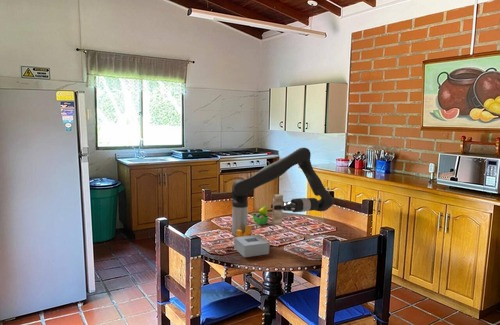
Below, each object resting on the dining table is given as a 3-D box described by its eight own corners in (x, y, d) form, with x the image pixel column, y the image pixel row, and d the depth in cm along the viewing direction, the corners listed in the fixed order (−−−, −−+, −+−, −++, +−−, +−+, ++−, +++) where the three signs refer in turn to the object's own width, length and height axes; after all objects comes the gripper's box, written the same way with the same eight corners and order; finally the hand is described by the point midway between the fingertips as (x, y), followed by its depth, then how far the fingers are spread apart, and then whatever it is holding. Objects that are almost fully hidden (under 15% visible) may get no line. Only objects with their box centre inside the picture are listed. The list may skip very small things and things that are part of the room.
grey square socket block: (234, 248, 192) (234, 237, 192) (257, 245, 198) (258, 234, 197) (244, 257, 180) (244, 245, 179) (269, 253, 185) (269, 242, 185)
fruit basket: (251, 221, 246) (251, 205, 245) (262, 220, 250) (263, 204, 248) (258, 225, 236) (259, 208, 234) (270, 224, 239) (271, 207, 238)
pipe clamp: (242, 242, 202) (242, 231, 201) (236, 241, 204) (236, 230, 203) (253, 237, 212) (254, 226, 211) (247, 236, 214) (247, 225, 213)
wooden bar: (272, 223, 194) (273, 194, 192) (279, 222, 196) (280, 194, 194) (274, 225, 191) (275, 195, 189) (281, 224, 193) (283, 195, 191)
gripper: (294, 195, 204) (267, 197, 197) (307, 201, 191) (279, 203, 184) (293, 208, 205) (266, 210, 198) (307, 214, 192) (278, 217, 185)
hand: (272, 207), depth 191 cm, fingers closed on wooden bar, 3 cm apart
